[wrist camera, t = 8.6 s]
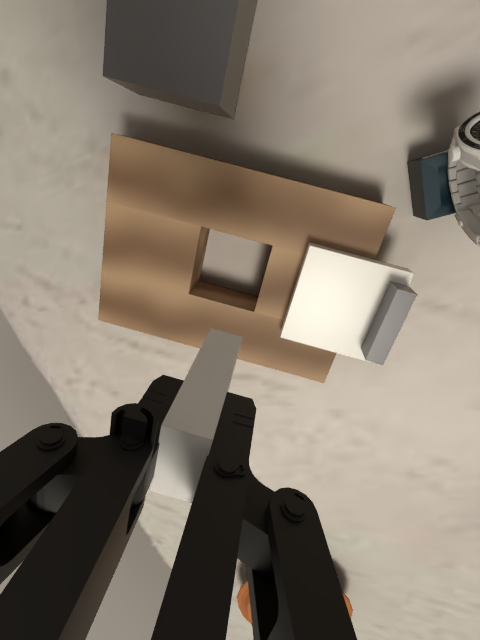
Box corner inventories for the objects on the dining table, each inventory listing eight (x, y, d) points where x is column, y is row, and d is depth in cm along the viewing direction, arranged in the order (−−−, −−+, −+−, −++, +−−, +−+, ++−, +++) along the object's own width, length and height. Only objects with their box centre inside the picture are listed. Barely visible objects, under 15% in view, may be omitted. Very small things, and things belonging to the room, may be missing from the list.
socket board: (133, 137, 30) (111, 133, 26) (382, 203, 29) (396, 207, 25) (117, 305, 36) (98, 320, 33) (320, 361, 36) (324, 382, 32)
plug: (181, 11, 26) (112, -91, 16) (265, 32, 26) (249, -58, 16) (168, 109, 28) (102, 75, 18) (244, 129, 28) (219, 106, 18)
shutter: (309, 242, 27) (311, 251, 24) (408, 268, 27) (423, 281, 24) (280, 330, 30) (279, 348, 27) (368, 354, 30) (377, 375, 27)
